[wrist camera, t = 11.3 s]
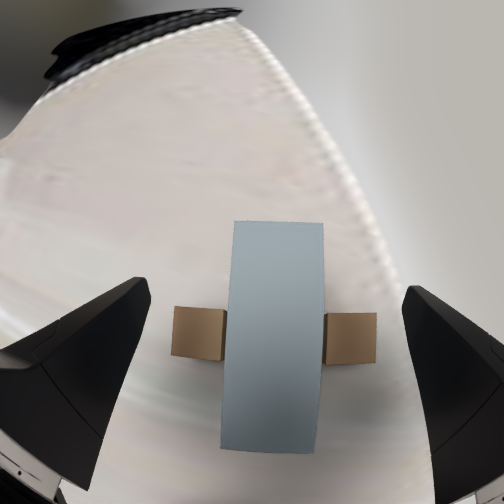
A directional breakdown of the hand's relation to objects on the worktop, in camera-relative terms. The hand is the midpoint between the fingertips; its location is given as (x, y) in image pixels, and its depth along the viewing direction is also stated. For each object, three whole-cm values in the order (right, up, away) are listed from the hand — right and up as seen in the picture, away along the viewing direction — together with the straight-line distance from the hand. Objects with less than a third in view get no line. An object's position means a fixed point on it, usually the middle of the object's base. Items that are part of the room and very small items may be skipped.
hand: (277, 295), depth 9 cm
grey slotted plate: (+1, -5, +10) cm, 11 cm away
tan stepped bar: (+1, -5, +10) cm, 11 cm away
